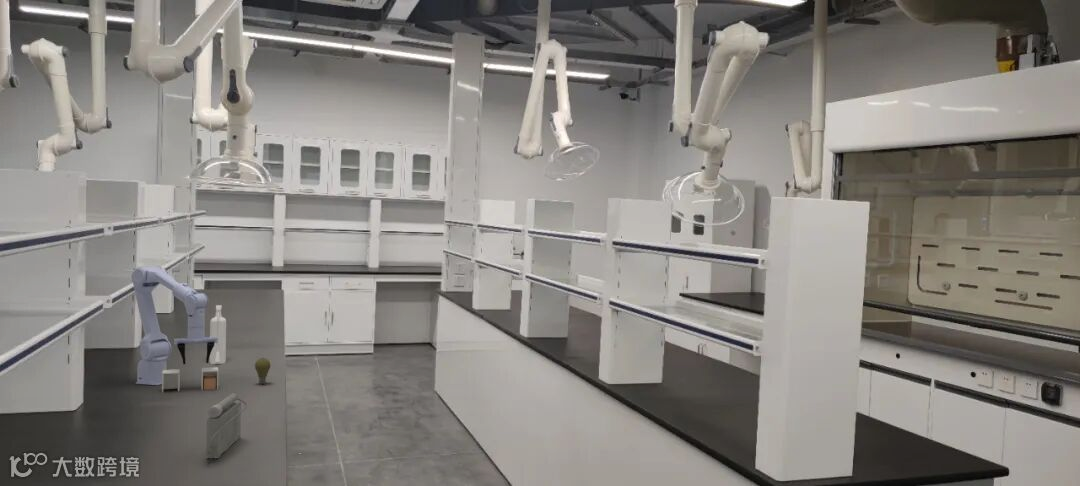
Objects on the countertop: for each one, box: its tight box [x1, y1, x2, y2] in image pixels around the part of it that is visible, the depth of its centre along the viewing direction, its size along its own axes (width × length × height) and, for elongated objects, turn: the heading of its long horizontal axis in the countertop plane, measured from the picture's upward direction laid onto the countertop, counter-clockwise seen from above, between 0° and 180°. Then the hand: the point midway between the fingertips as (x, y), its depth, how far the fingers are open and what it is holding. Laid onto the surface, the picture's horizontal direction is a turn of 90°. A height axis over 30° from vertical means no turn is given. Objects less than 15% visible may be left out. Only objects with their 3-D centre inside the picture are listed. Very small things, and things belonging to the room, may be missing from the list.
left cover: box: [161, 368, 181, 393], centre depth 274 cm, size 6×6×7 cm
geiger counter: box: [205, 392, 248, 459], centre depth 209 cm, size 14×6×25 cm
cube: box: [203, 376, 217, 390], centre depth 279 cm, size 4×4×4 cm
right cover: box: [200, 367, 219, 391], centre depth 279 cm, size 6×6×7 cm
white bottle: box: [209, 304, 227, 365], centre depth 323 cm, size 7×12×25 cm, turn 19°
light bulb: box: [254, 357, 271, 385], centre depth 288 cm, size 6×6×10 cm
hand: (195, 363), depth 277 cm, fingers open, 7 cm apart
